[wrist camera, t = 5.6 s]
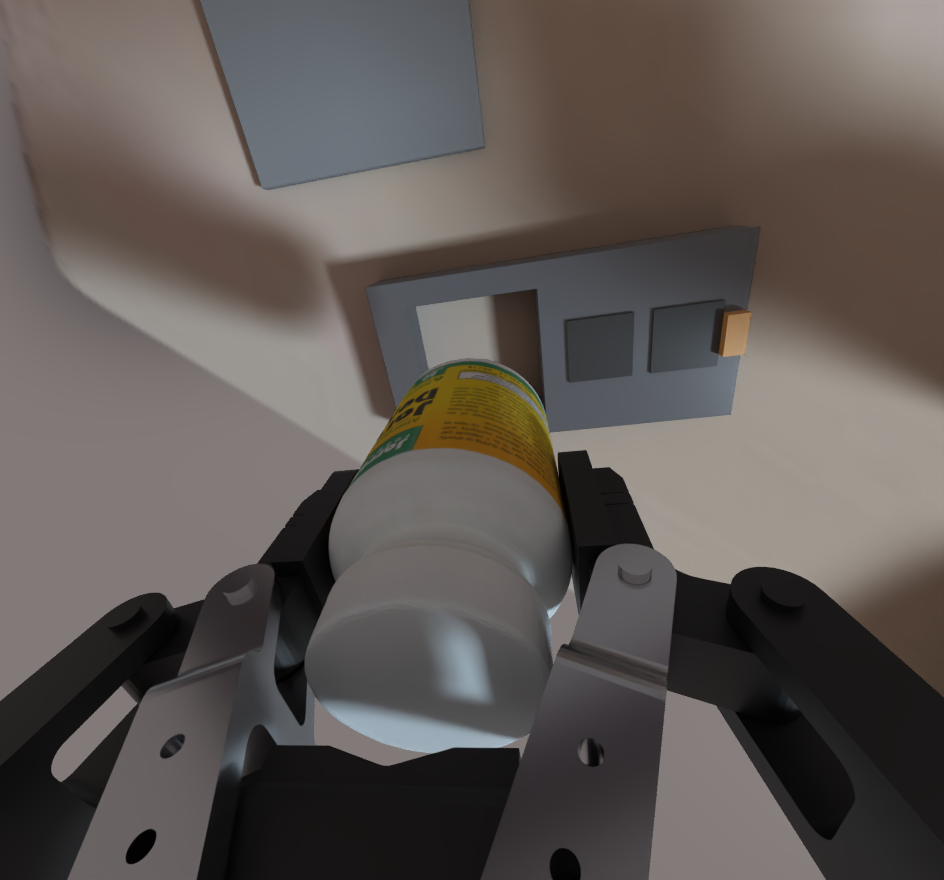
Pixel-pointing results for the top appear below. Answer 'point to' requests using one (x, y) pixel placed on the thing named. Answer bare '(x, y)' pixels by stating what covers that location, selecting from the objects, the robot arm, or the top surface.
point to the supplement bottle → (446, 568)
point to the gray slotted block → (605, 325)
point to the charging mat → (347, 83)
